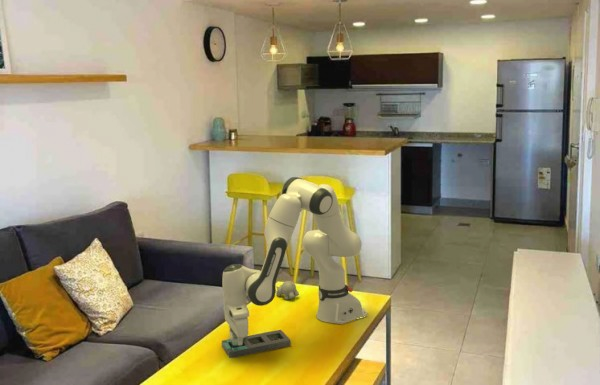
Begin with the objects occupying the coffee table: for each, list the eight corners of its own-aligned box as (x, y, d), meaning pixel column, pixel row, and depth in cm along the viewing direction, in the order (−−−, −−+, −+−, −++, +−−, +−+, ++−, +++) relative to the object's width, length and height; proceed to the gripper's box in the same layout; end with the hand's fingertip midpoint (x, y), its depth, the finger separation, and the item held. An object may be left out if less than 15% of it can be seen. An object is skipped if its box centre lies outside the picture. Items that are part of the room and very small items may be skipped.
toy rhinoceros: (284, 299, 294) (278, 282, 294) (301, 294, 286) (296, 277, 287) (274, 303, 288) (269, 286, 289) (292, 299, 281) (286, 281, 281)
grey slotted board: (280, 335, 247) (280, 329, 246) (290, 346, 237) (290, 339, 236) (221, 346, 238) (221, 340, 237) (229, 358, 228) (229, 351, 227)
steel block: (240, 347, 237) (239, 328, 235) (243, 351, 233) (242, 331, 232) (230, 348, 236) (229, 329, 234) (233, 353, 232) (232, 333, 230)
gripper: (219, 298, 239) (221, 330, 242) (234, 316, 220) (235, 351, 223) (235, 295, 241) (236, 328, 244) (250, 314, 223) (252, 348, 225)
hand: (236, 339), depth 233 cm, fingers open, 8 cm apart
